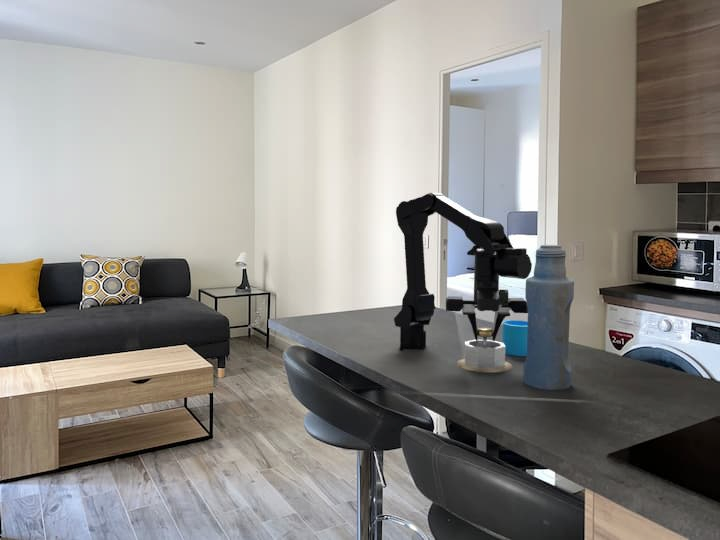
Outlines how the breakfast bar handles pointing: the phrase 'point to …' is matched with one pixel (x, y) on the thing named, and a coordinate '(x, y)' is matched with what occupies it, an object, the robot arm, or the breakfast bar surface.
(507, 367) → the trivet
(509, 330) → the mug
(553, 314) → the bottle
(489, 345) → the grey piece
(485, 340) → the plunger
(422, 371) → the breakfast bar surface
